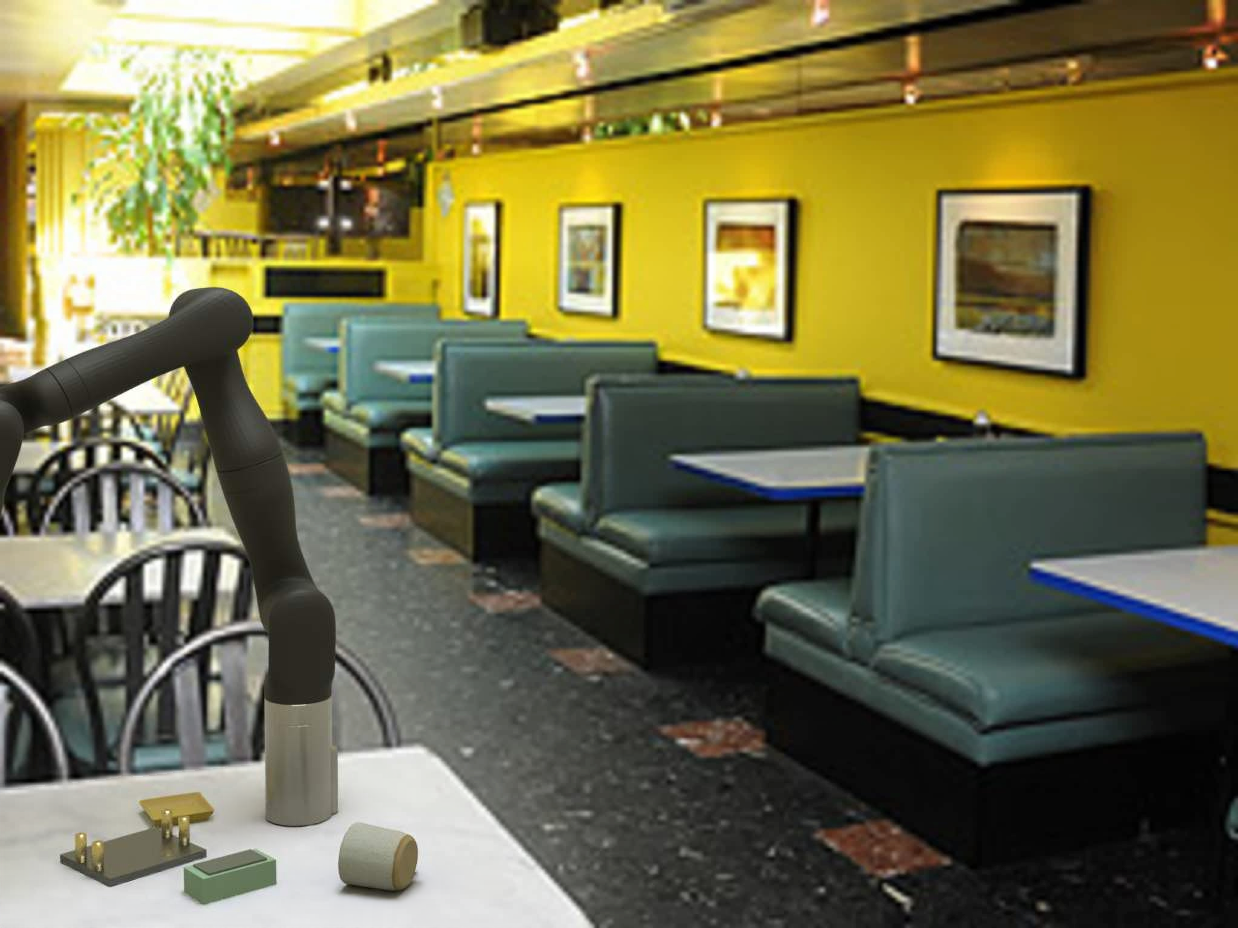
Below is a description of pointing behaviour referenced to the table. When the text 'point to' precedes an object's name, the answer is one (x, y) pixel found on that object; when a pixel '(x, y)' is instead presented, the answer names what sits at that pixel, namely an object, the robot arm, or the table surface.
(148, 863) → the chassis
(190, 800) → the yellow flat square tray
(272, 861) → the green rectangular block
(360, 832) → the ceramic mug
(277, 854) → the table surface
